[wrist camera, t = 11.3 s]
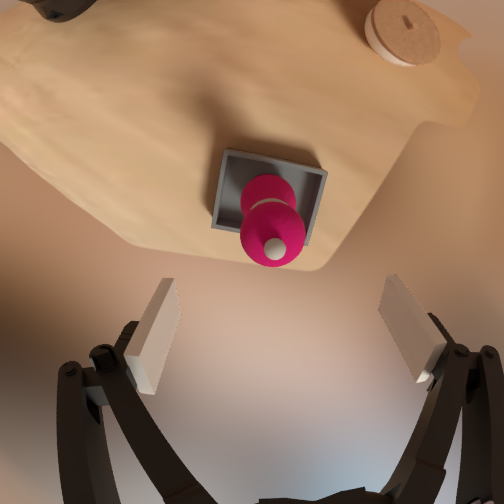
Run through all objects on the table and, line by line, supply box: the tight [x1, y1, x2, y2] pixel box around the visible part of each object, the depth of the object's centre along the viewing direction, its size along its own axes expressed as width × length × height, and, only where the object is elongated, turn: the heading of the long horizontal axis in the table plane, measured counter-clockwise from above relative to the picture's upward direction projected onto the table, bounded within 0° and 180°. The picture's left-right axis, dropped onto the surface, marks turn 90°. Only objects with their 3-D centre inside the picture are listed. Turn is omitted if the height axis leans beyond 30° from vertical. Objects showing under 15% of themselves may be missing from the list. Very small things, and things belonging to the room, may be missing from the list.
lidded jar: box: [364, 0, 441, 66], centre depth 25 cm, size 11×11×9 cm
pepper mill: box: [240, 174, 306, 267], centre depth 31 cm, size 7×7×20 cm
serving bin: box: [211, 148, 328, 246], centre depth 39 cm, size 14×11×4 cm
